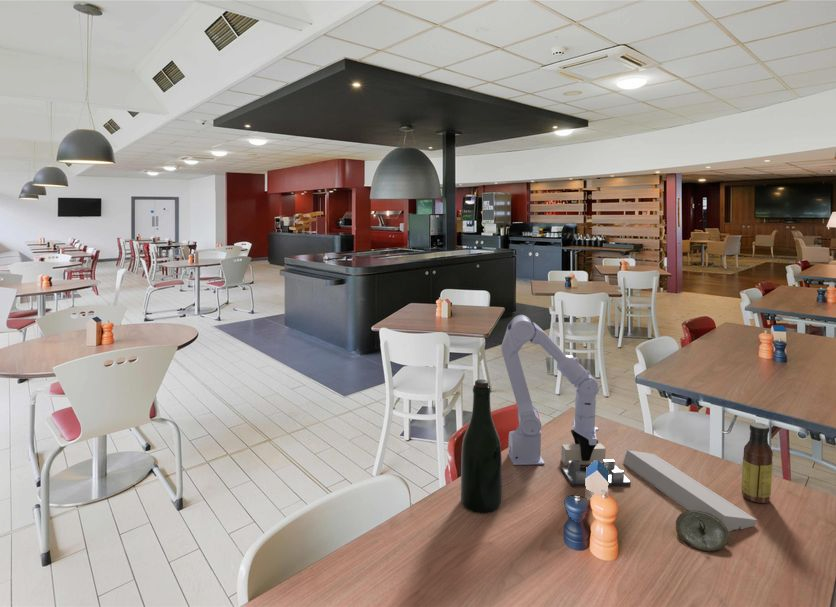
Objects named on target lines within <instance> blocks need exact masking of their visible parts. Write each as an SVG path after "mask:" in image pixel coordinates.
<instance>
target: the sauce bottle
mask: <svg viewBox="0 0 836 607" xmlns="http://www.w3.org/2000/svg"><path fill="white" fill-rule="evenodd" d="M749 430H750V432H749V440H748V441H747V442H746V444H745V445H744V447H743V456H742V468H741V469H742V470H741V471H742V472H741V494H742V496H743V497H744V499H747V500H748V501H751V502H754V503H758V504H768V503H769V502H770V499H771V495H772V481H773V463H774V462H773V455H774V454H773V453H774V452H773V450H772V448H771V446H770V445H769V439H768V438H769V432H770V426H769V425H768V424H765V423H762V422H751V423H749Z"/></svg>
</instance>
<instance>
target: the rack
mask: <svg viewBox="0 0 836 607" xmlns="http://www.w3.org/2000/svg"><path fill="white" fill-rule="evenodd" d="M615 464H616V463H615V460H614V459H605V460H603V464H602V466H603V465H604V466H605V467H606V468H607V469H608V471H609V475H608V482H609V486H608V487H617V486H618V487H619V486H624V487H625V486H631V483H632V481H631V480H630V479H629V478H628V477H627V476H626V475H625V471H624V470H623V469H620V468H619V467H618V466H617V465H615ZM586 467H587V466H581V465H580V461H569V465H567V466H565V467H564V466H563V467H561V472H562V473H563V474H564V476H565V477H566V479H567V481H568V482H569V484H570V485H571V488H585V487H584V486H585V478H586Z"/></svg>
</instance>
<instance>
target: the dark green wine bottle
mask: <svg viewBox="0 0 836 607" xmlns="http://www.w3.org/2000/svg"><path fill="white" fill-rule="evenodd" d="M491 393H492V389H491V386H490V384H489V381H488V380H487V379H477V380H475V381H474V385H473V386H472V396H473V397H472V399H473V400H472V411H471V415H470V416H471V417H470V420H469V423H468V426H467V429H466V430H465V433H464V435H463V438H462V444H461V460H460V461H461V463H460V465H461V466H460V467H461V468H460V501H461V504H462V506H463V507H464V509H465V510H467V511H470V512H472V513H476V514H491V513H493V512H496V511H497V510H499V509H500V507H501V505H502V502H503V498H502V497H503V496H502V495H503V494H502V492H503V478H502V477H503V474H502V473H503V472H502V470H503V469H502V465H503V464H502V462H503V460H502V458H503V457H502V446H501V441H500V436H499V433H498V431H497V429H496V427H495V423H494V420H493V416H492V411H491Z"/></svg>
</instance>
